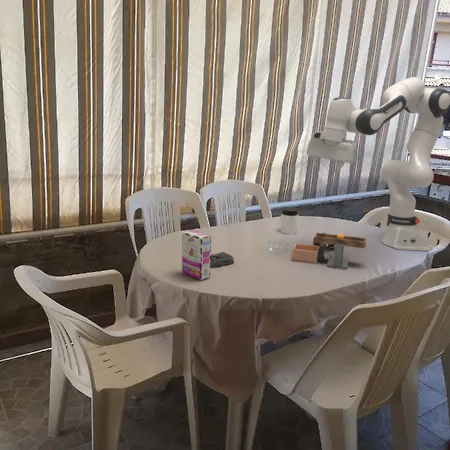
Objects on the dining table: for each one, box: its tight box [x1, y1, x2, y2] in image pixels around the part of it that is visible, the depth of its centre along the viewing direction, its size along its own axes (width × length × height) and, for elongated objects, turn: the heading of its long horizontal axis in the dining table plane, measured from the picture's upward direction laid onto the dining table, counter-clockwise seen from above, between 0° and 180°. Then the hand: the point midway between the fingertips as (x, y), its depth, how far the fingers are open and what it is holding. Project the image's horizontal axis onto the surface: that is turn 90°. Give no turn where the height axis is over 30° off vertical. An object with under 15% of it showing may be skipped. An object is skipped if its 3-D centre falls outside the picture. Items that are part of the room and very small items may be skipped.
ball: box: [336, 233, 345, 239], centre depth 189 cm, size 3×3×3 cm
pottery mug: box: [312, 232, 335, 251], centre depth 210 cm, size 12×10×8 cm
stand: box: [317, 243, 350, 270], centre depth 191 cm, size 12×13×10 cm
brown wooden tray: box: [314, 232, 367, 249], centre depth 190 cm, size 20×9×3 cm, turn 73°
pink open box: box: [291, 243, 319, 264], centre depth 195 cm, size 10×8×5 cm
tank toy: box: [210, 251, 235, 269], centre depth 188 cm, size 12×10×5 cm
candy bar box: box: [181, 229, 212, 281], centre depth 173 cm, size 11×5×16 cm, turn 45°
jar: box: [279, 206, 300, 235], centre depth 233 cm, size 9×8×12 cm
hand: (326, 170), depth 193 cm, fingers open, 8 cm apart
